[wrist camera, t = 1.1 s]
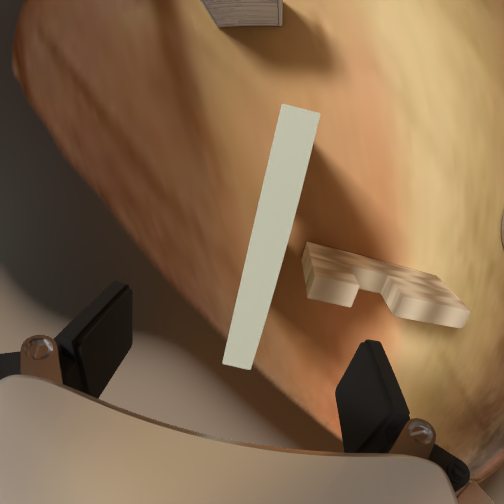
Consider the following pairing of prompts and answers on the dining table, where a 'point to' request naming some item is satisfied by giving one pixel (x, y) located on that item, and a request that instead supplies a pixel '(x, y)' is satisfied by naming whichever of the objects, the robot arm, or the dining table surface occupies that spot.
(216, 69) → the dining table surface
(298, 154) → the sage plate
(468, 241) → the dining table surface
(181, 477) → the robot arm
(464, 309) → the maple board
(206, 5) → the medicine box
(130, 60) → the dining table surface
